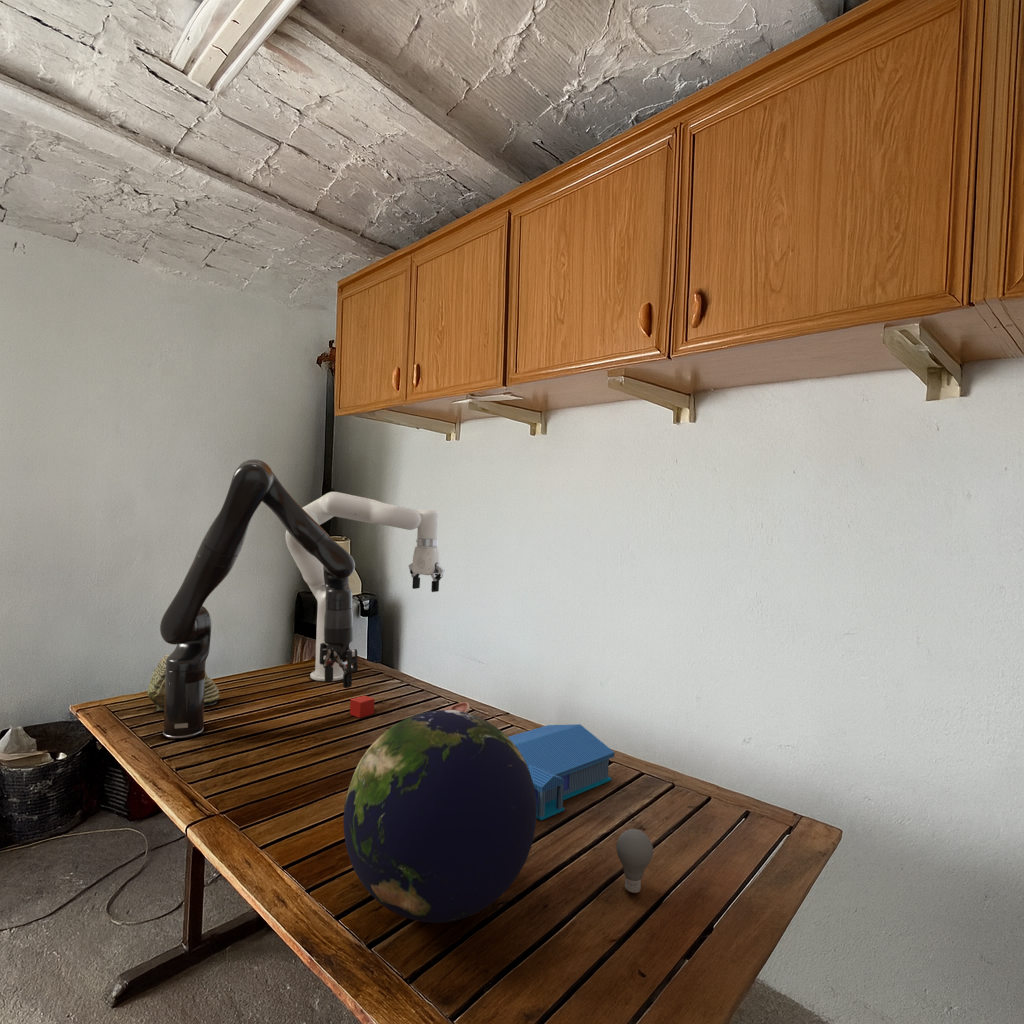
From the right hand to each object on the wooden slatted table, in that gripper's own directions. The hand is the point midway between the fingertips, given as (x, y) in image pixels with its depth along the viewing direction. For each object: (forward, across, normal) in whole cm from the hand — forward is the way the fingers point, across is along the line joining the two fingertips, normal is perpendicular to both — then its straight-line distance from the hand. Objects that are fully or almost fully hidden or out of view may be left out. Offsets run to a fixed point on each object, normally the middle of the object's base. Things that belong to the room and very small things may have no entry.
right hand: (425, 590), depth 231 cm
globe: (+30, +97, -93) cm, 137 cm away
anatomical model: (+30, +40, -30) cm, 59 cm away
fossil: (+30, -22, -76) cm, 84 cm away
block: (+30, +20, -44) cm, 57 cm away
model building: (+30, +83, -51) cm, 102 cm away
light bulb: (+30, +119, -69) cm, 140 cm away
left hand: (+18, +24, -56) cm, 64 cm away
